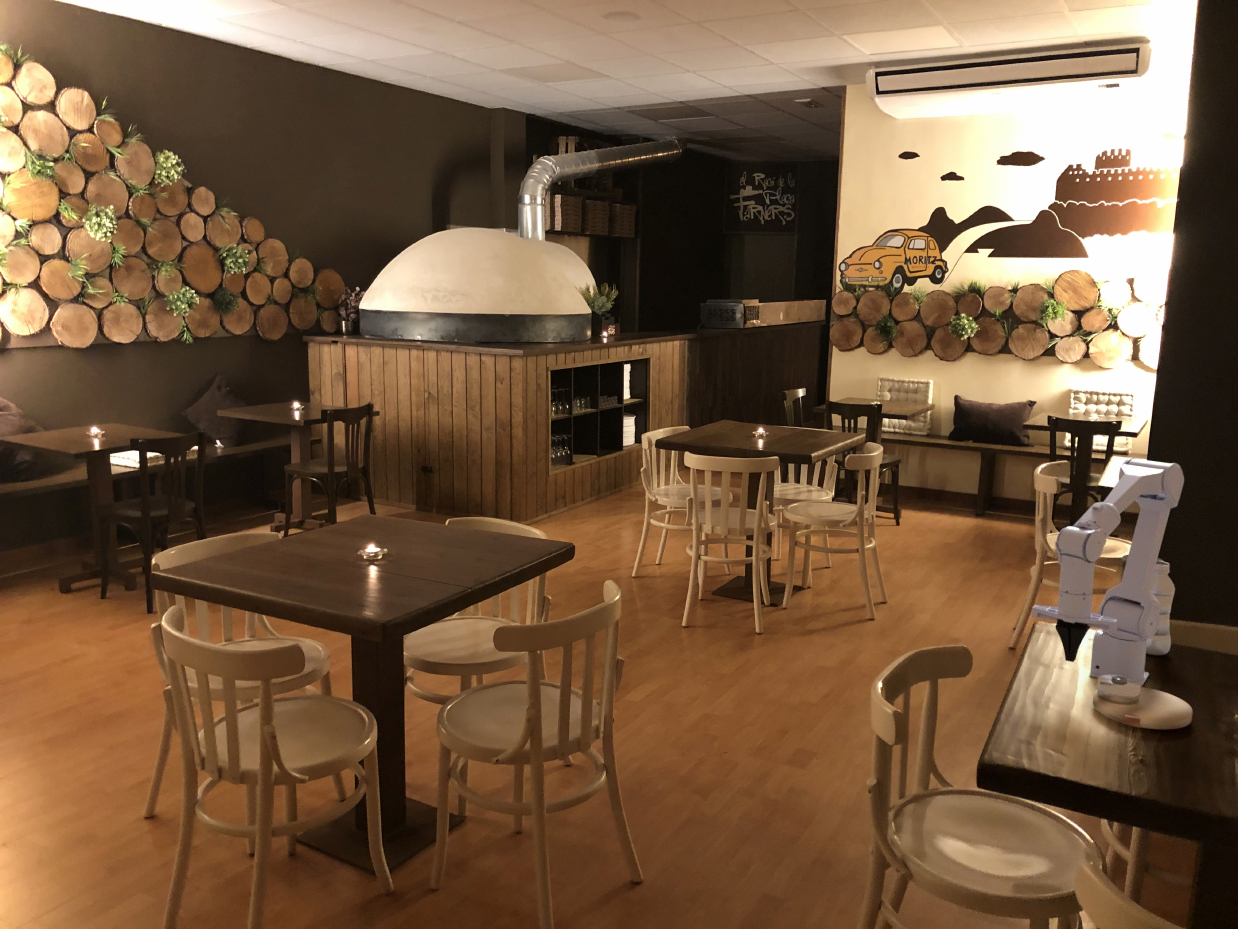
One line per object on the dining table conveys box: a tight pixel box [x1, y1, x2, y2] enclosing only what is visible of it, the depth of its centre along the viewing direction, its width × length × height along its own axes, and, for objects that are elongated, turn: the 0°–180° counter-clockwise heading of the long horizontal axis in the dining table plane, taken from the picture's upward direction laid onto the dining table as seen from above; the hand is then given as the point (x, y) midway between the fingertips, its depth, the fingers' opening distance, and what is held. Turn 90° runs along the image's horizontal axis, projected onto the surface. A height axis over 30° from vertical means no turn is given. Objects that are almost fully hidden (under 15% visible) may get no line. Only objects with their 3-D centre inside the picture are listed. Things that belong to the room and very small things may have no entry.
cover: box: [1096, 675, 1141, 705], centre depth 179 cm, size 7×7×4 cm
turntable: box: [1092, 686, 1194, 730], centre depth 177 cm, size 16×16×2 cm
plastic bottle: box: [1141, 561, 1176, 656], centre depth 207 cm, size 6×7×20 cm
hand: (1070, 659), depth 184 cm, fingers closed
